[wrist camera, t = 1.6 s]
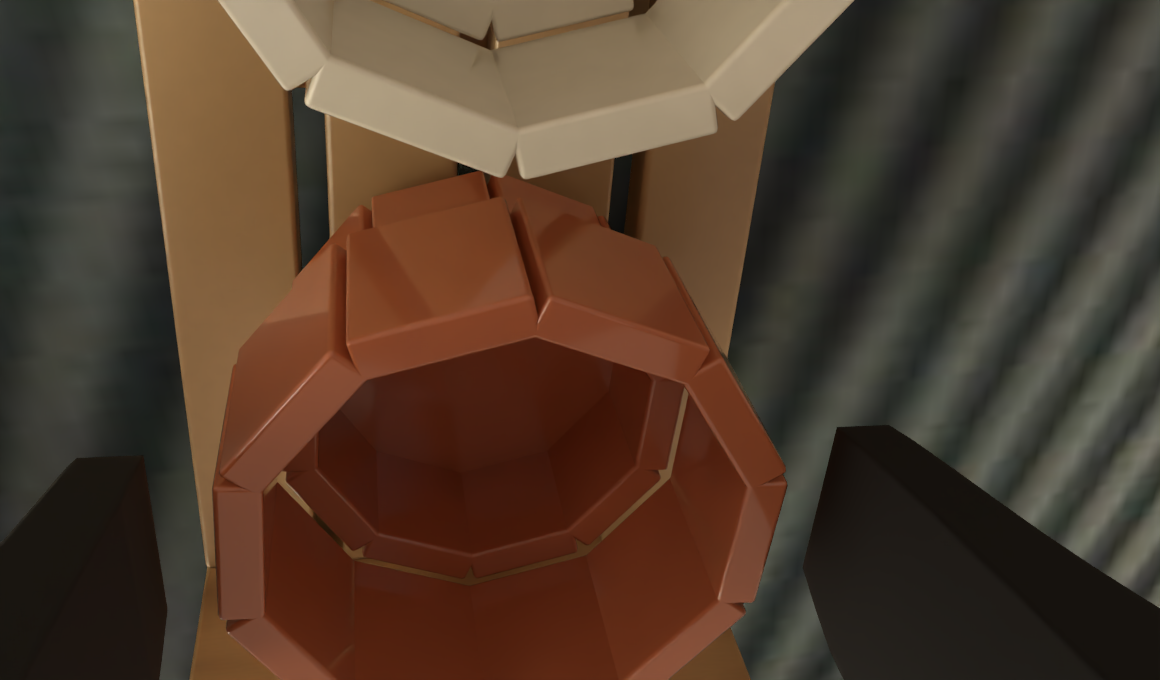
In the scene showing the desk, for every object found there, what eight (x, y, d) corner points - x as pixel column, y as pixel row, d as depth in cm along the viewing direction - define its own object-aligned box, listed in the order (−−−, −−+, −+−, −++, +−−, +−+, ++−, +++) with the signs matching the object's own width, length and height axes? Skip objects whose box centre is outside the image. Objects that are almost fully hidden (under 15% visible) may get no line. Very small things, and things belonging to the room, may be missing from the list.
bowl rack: (227, 476, 19) (183, 767, 14) (82, -857, 11) (-159, -1319, 6) (650, 456, 21) (748, 714, 16) (816, -731, 12) (1147, -1009, 7)
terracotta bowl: (574, 529, 17) (636, 774, 13) (189, 433, 15) (134, 693, 11) (752, 217, 15) (889, 408, 11) (326, 52, 13) (316, 217, 9)
